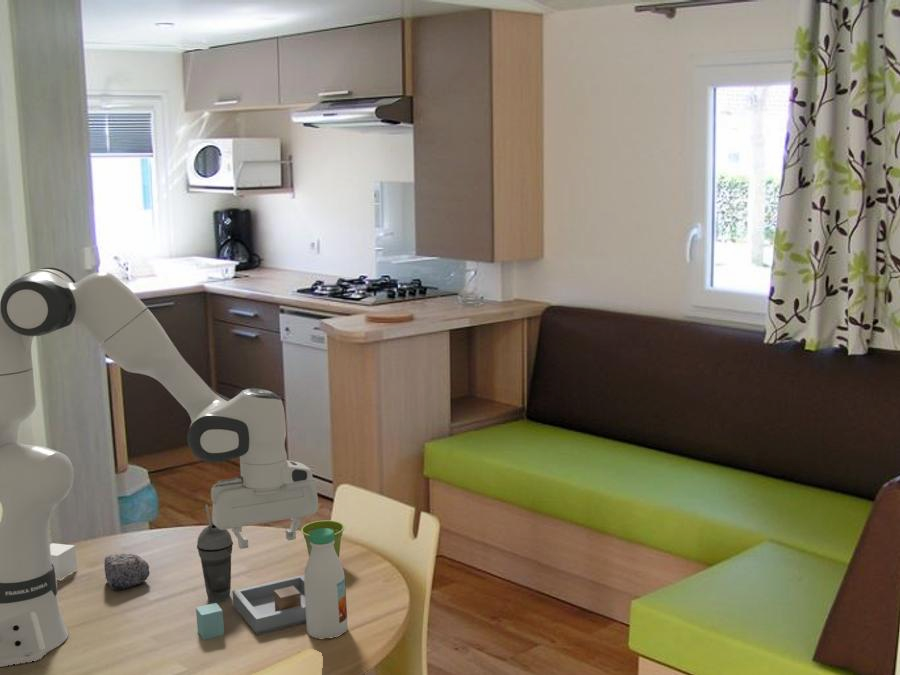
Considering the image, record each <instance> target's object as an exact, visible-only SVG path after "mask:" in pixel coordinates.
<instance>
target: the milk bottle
mask: <svg viewBox="0 0 900 675" xmlns="http://www.w3.org/2000/svg"><path fill="white" fill-rule="evenodd" d="M334 538H335V536H334V531H333V530H331V529H327V528H321V529H316V530H313V531H312V532H310V544H311V545H312V549H311V554H310V557H309V556H308V559H307V563H306V565H305V568H304V573H303V575H304V587H305V606H306V623H305V624H306V631H307V633H308V635H309V636H310V637H311V636H312V637H311V638H313V637H315V638H314V639H317V638H330V637H335V636H338V635H340V634H342V633H344V632H345V631H346V632H347V629H348V608H347V594H346V593H347V592H346V591H347V590H346V589H347V588H346V578H345V571H344V566H343V563H342V562H341V560H340V557H339V558H338V556H337V554H336V552H335V549H334V543H335V541H334ZM346 632H345V633H346ZM345 633H344V634H345Z"/></svg>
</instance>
